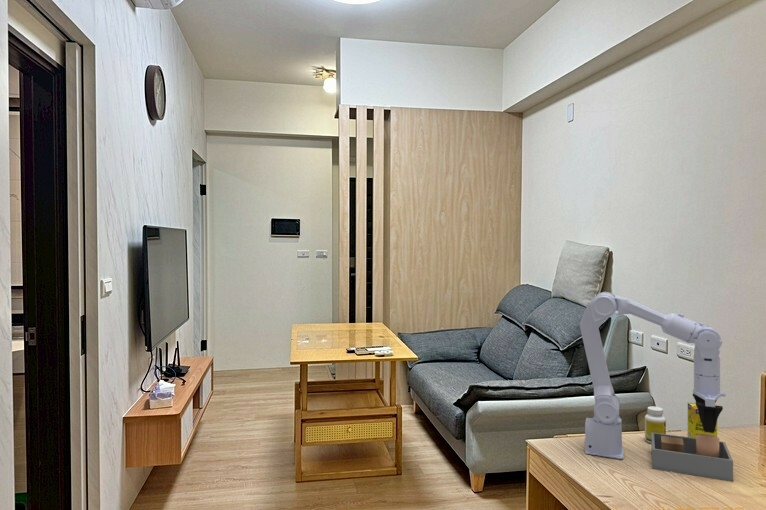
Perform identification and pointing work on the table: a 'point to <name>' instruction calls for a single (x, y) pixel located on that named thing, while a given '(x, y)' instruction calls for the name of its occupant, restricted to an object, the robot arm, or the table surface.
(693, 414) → the supplement box
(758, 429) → the table surface
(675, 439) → the walnut cube
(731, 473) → the tote
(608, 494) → the table surface
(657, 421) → the supplement bottle
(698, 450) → the terracotta cylinder
